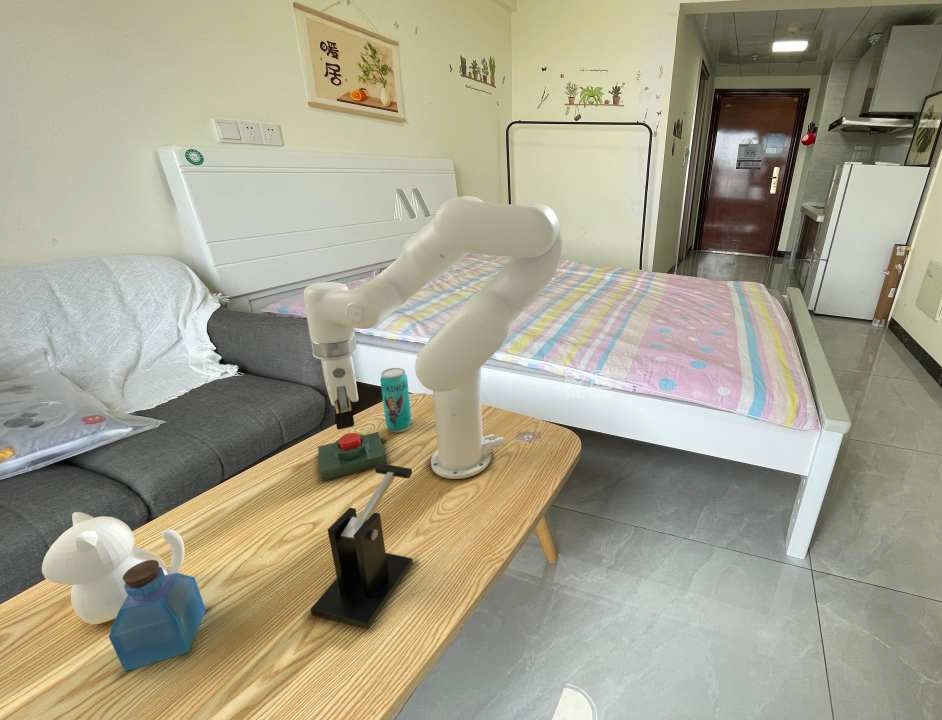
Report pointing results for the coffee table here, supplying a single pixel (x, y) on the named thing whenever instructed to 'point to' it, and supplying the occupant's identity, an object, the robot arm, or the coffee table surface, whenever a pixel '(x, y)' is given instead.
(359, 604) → the bracket
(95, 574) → the cat figurine
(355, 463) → the control box
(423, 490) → the coffee table surface
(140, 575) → the perfume bottle
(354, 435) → the button
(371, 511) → the lever
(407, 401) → the beverage can
